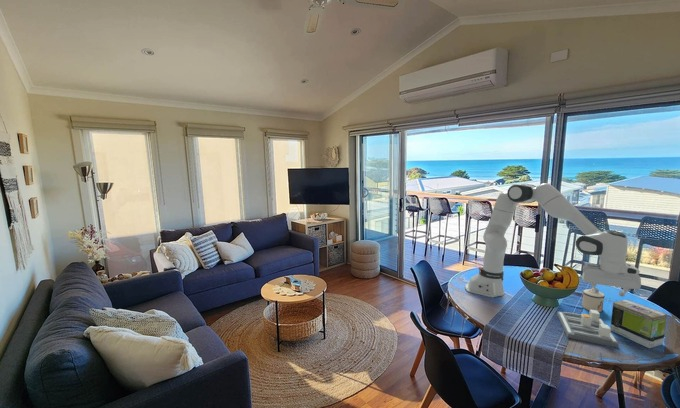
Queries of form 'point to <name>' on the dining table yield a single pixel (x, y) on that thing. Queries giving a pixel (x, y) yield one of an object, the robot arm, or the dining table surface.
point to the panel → (587, 328)
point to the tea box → (638, 323)
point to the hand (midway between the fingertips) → (608, 294)
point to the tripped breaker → (585, 320)
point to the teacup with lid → (592, 300)
